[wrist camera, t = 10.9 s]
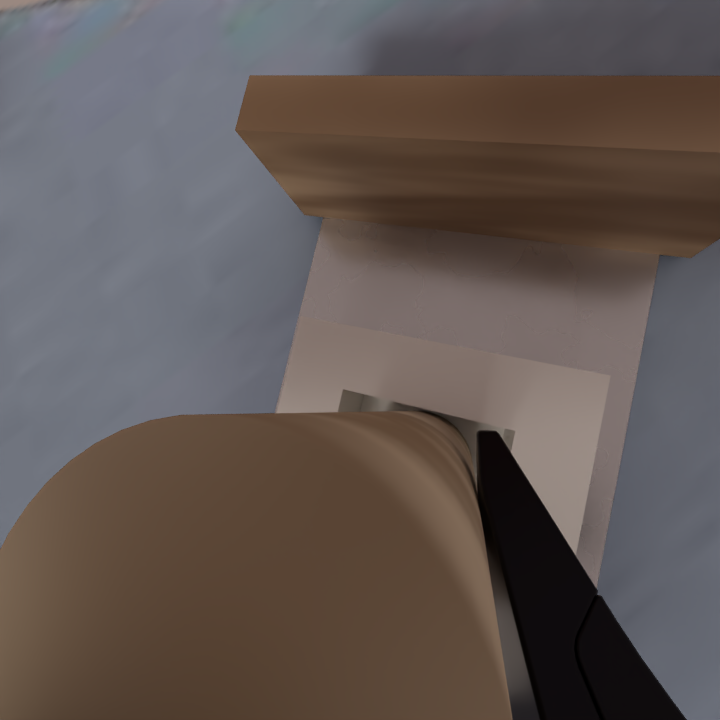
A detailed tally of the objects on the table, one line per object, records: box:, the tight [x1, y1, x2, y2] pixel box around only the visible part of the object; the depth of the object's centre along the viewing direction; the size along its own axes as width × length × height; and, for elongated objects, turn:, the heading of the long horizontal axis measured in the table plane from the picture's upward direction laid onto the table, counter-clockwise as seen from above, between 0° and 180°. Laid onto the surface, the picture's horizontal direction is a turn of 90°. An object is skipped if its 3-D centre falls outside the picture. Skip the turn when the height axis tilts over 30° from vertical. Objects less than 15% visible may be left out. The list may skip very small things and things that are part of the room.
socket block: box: [277, 316, 611, 555], centre depth 14 cm, size 10×10×4 cm
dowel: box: [0, 411, 513, 720], centre depth 9 cm, size 4×4×13 cm
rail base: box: [235, 76, 720, 589], centre depth 14 cm, size 18×16×7 cm
